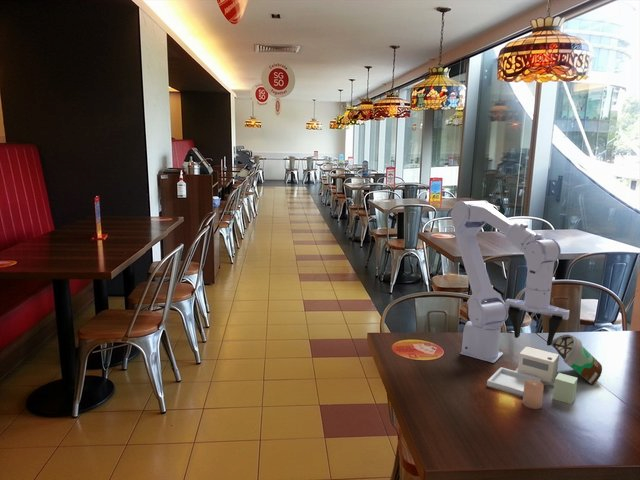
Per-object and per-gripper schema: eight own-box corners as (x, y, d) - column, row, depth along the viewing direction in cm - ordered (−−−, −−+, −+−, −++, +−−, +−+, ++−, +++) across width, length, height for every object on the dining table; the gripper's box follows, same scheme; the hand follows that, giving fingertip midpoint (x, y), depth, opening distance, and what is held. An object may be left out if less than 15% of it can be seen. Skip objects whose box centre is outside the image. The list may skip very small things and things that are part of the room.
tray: (486, 385, 119) (487, 380, 119) (500, 372, 127) (500, 367, 127) (529, 399, 113) (530, 393, 113) (541, 383, 121) (541, 378, 121)
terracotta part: (520, 404, 111) (522, 384, 110) (525, 398, 114) (527, 378, 113) (538, 410, 108) (541, 389, 107) (543, 403, 111) (545, 383, 110)
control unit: (512, 375, 125) (514, 352, 124) (521, 365, 131) (523, 343, 130) (554, 387, 119) (557, 363, 118) (561, 376, 125) (564, 353, 124)
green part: (552, 398, 114) (554, 378, 113) (556, 392, 117) (558, 372, 116) (571, 404, 111) (574, 383, 111) (575, 397, 115) (577, 377, 114)
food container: (614, 371, 118) (582, 344, 118) (595, 388, 120) (563, 361, 120) (594, 351, 130) (565, 326, 130) (577, 366, 132) (548, 342, 132)
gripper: (503, 285, 121) (498, 337, 124) (567, 297, 113) (560, 352, 115) (511, 280, 127) (507, 330, 129) (573, 290, 118) (567, 344, 120)
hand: (532, 340), depth 122 cm, fingers open, 7 cm apart
